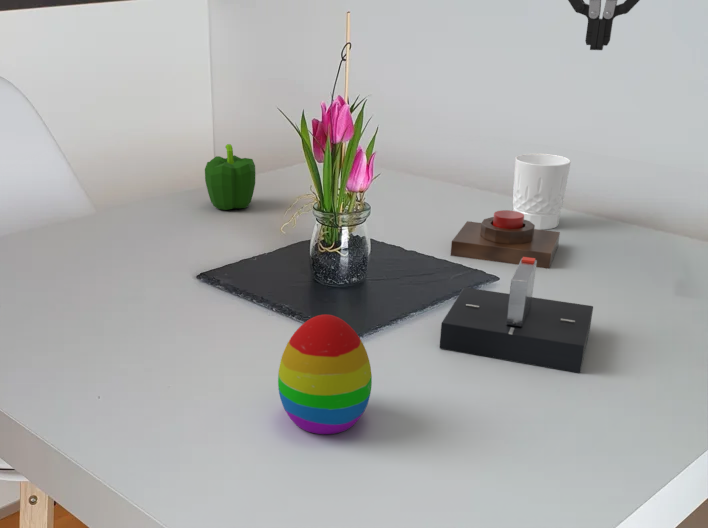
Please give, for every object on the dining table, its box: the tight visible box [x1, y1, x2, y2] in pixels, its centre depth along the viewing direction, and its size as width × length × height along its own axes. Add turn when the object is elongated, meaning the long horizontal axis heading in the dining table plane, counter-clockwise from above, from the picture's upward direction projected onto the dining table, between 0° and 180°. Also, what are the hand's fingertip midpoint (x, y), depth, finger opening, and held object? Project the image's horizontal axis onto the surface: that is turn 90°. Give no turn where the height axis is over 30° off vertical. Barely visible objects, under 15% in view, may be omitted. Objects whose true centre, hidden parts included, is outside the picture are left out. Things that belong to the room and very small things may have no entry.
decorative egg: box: [277, 313, 373, 435], centre depth 73 cm, size 8×8×10 cm
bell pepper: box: [204, 143, 256, 211], centre depth 136 cm, size 8×8×10 cm
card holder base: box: [439, 286, 594, 374], centre depth 89 cm, size 14×11×3 cm
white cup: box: [512, 153, 572, 230], centre depth 126 cm, size 8×8×10 cm
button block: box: [450, 216, 561, 270], centre depth 116 cm, size 13×10×4 cm
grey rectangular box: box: [506, 257, 537, 327], centre depth 88 cm, size 7×2×5 cm, turn 156°
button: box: [493, 209, 524, 229], centre depth 115 cm, size 4×4×2 cm
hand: (596, 49), depth 106 cm, fingers closed
